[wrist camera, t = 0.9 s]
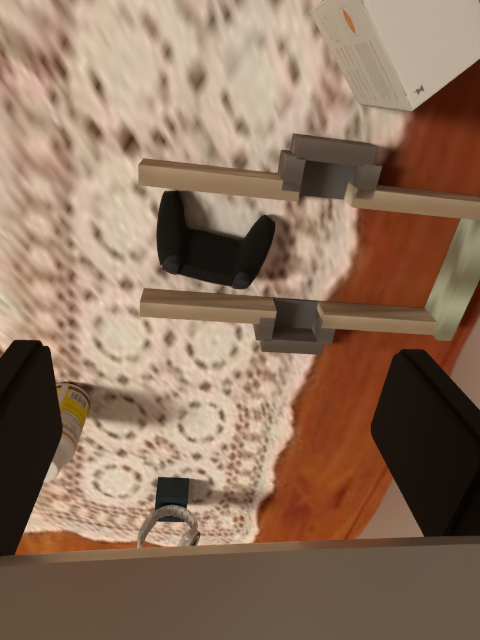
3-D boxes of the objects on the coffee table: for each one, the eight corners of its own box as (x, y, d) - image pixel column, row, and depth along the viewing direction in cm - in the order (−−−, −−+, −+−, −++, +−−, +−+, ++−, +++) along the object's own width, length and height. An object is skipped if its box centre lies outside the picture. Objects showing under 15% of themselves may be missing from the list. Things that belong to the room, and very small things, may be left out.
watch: (198, 502, 60) (197, 581, 50) (143, 500, 58) (132, 581, 49) (202, 478, 57) (202, 557, 48) (145, 476, 56) (133, 556, 46)
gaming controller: (161, 207, 39) (146, 273, 37) (164, 182, 35) (147, 255, 33) (265, 234, 41) (255, 298, 39) (279, 214, 37) (269, 284, 35)
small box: (417, 58, 32) (499, 49, 23) (357, 106, 34) (413, 115, 25) (371, -48, 29) (448, -107, 20) (307, 11, 30) (350, -19, 21)
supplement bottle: (41, 411, 48) (5, 484, 39) (45, 376, 46) (7, 446, 37) (88, 419, 49) (64, 491, 41) (95, 385, 47) (69, 455, 38)
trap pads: (298, 154, 35) (299, 154, 35) (352, 160, 36) (353, 161, 36) (267, 324, 44) (268, 325, 44) (310, 327, 45) (311, 328, 45)
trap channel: (143, 114, 33) (136, 118, 29) (501, 159, 37) (531, 167, 33) (144, 329, 43) (138, 350, 40) (422, 345, 47) (439, 366, 44)
